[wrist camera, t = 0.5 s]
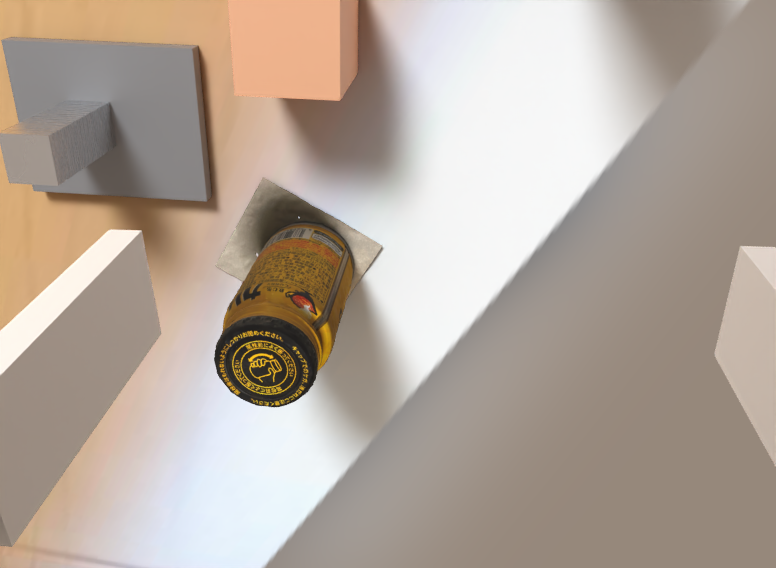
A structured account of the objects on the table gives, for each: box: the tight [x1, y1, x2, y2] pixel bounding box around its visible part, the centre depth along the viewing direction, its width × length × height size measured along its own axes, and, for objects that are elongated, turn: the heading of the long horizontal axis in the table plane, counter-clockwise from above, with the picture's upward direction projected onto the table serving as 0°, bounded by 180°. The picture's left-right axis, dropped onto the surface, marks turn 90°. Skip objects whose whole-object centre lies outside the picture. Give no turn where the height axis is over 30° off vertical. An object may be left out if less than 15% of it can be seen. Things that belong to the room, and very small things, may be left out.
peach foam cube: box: [228, 0, 358, 101], centre depth 37 cm, size 5×5×7 cm
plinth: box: [2, 37, 212, 201], centre depth 43 cm, size 9×11×1 cm
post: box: [0, 100, 116, 186], centre depth 39 cm, size 3×3×7 cm
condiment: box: [214, 178, 382, 407], centre depth 41 cm, size 7×8×12 cm
